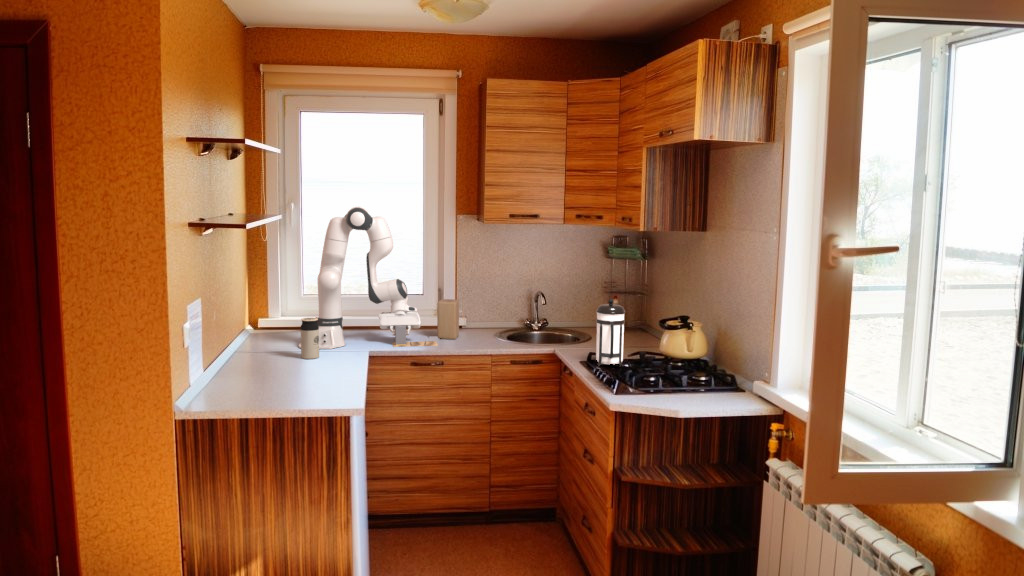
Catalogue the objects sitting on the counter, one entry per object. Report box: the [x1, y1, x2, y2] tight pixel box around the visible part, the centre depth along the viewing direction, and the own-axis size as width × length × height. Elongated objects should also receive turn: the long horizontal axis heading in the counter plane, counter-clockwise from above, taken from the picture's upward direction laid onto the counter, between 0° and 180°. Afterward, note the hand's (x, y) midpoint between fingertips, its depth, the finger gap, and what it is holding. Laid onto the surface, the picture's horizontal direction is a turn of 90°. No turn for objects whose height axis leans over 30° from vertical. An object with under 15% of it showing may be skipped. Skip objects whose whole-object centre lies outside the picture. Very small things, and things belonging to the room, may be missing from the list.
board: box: [391, 340, 439, 348], centre depth 377 cm, size 22×12×2 cm, turn 101°
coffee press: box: [595, 298, 626, 366], centre depth 338 cm, size 17×16×30 cm
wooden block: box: [436, 298, 460, 340], centre depth 402 cm, size 10×10×20 cm
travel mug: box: [300, 317, 320, 360], centre depth 349 cm, size 8×8×18 cm
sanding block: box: [394, 326, 407, 345], centre depth 376 cm, size 5×5×9 cm
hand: (400, 334), depth 375 cm, fingers closed on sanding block, 5 cm apart
